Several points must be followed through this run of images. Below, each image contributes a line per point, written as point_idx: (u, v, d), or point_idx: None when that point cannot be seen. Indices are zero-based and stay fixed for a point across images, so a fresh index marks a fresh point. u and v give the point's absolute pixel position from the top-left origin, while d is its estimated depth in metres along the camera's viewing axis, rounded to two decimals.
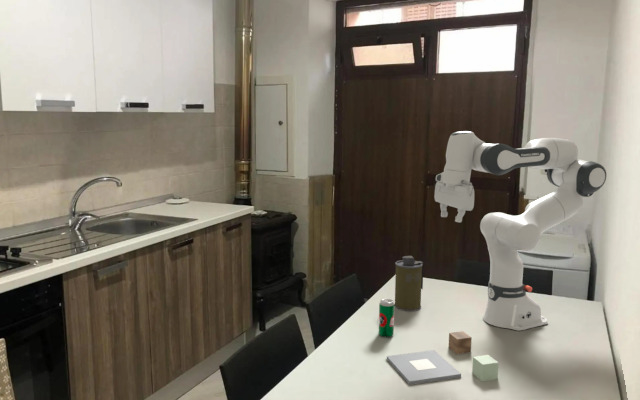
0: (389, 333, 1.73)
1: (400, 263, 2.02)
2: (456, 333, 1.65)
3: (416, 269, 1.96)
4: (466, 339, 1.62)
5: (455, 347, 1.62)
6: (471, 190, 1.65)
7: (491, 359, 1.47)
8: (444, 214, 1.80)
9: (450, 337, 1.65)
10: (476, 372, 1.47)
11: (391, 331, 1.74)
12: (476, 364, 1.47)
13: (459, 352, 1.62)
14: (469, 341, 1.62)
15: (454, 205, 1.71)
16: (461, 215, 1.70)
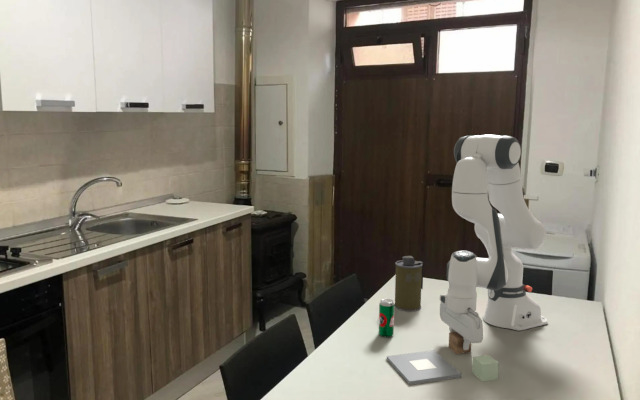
0: (389, 333, 1.73)
1: (400, 263, 2.02)
2: (456, 333, 1.65)
3: (416, 269, 1.96)
4: None
5: (455, 347, 1.62)
6: (479, 323, 1.53)
7: (491, 359, 1.47)
8: None
9: (450, 337, 1.65)
10: (476, 372, 1.47)
11: (391, 331, 1.74)
12: (476, 364, 1.47)
13: (459, 352, 1.62)
14: None
15: (462, 334, 1.59)
16: (468, 343, 1.60)
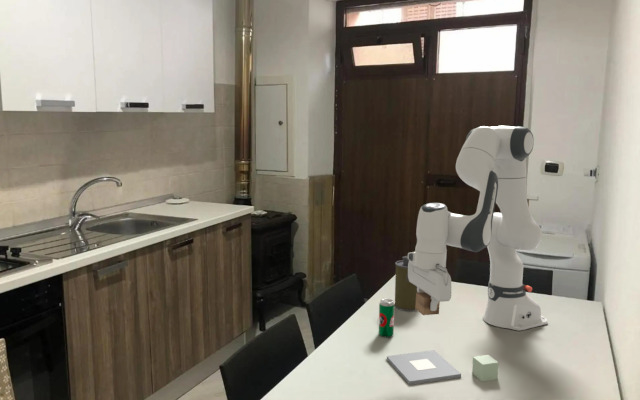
0: (389, 333, 1.73)
1: (400, 263, 2.02)
2: (424, 293, 1.51)
3: None
4: None
5: (422, 307, 1.48)
6: (447, 278, 1.39)
7: (491, 359, 1.47)
8: None
9: (417, 298, 1.51)
10: (476, 372, 1.47)
11: (391, 331, 1.74)
12: (476, 364, 1.47)
13: (426, 313, 1.48)
14: None
15: (429, 293, 1.45)
16: (435, 303, 1.46)
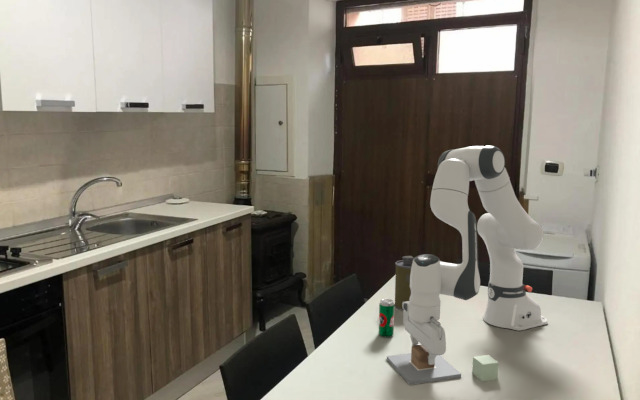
0: (389, 333, 1.73)
1: (400, 263, 2.02)
2: (419, 346, 1.53)
3: None
4: None
5: (417, 361, 1.50)
6: (441, 333, 1.41)
7: (491, 359, 1.47)
8: None
9: (412, 351, 1.53)
10: (476, 372, 1.47)
11: (391, 331, 1.74)
12: (476, 364, 1.47)
13: (421, 367, 1.50)
14: None
15: (424, 345, 1.47)
16: (433, 357, 1.46)
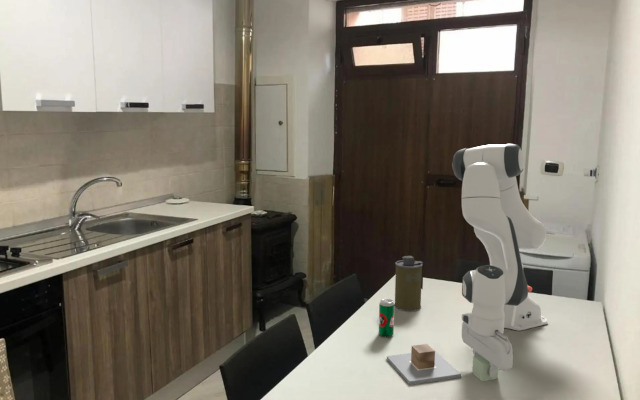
0: (389, 333, 1.73)
1: (400, 263, 2.02)
2: (419, 346, 1.53)
3: (416, 269, 1.96)
4: (429, 353, 1.50)
5: (417, 361, 1.50)
6: (508, 347, 1.36)
7: None
8: None
9: (412, 351, 1.53)
10: (476, 372, 1.47)
11: (391, 331, 1.74)
12: (476, 364, 1.47)
13: (421, 367, 1.50)
14: (432, 355, 1.50)
15: (488, 359, 1.43)
16: (495, 369, 1.43)
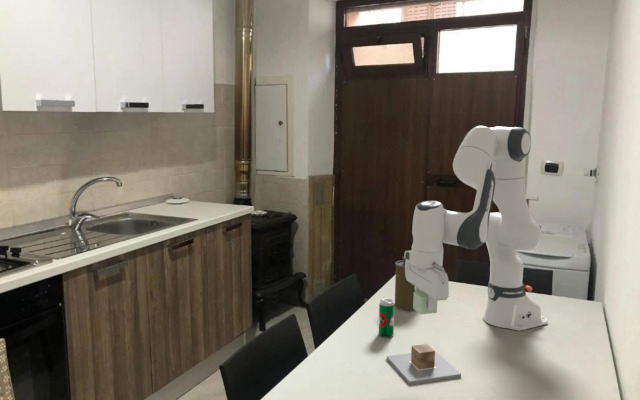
0: (389, 333, 1.73)
1: (400, 263, 2.02)
2: (419, 346, 1.53)
3: None
4: (429, 353, 1.50)
5: (417, 361, 1.50)
6: (444, 277, 1.38)
7: None
8: None
9: (412, 351, 1.53)
10: (416, 306, 1.49)
11: (391, 331, 1.74)
12: (416, 299, 1.49)
13: (421, 367, 1.50)
14: (432, 355, 1.50)
15: (426, 292, 1.44)
16: (433, 302, 1.45)
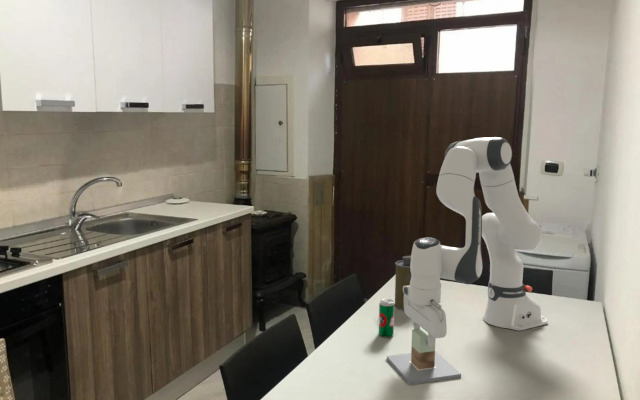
0: (389, 333, 1.73)
1: (400, 263, 2.02)
2: None
3: None
4: (429, 353, 1.50)
5: (417, 361, 1.50)
6: (441, 316, 1.40)
7: None
8: None
9: (412, 351, 1.53)
10: (415, 345, 1.51)
11: (391, 331, 1.74)
12: (414, 337, 1.51)
13: (421, 367, 1.50)
14: (432, 355, 1.50)
15: (425, 328, 1.46)
16: (432, 339, 1.46)
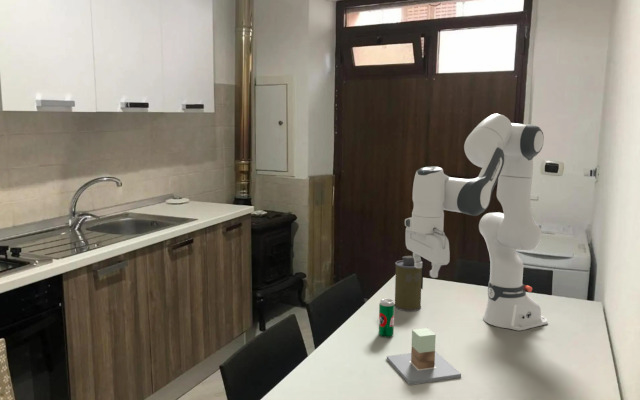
0: (389, 333, 1.73)
1: (400, 263, 2.02)
2: None
3: (416, 269, 1.96)
4: (429, 353, 1.50)
5: (417, 361, 1.50)
6: (444, 241, 1.37)
7: (429, 332, 1.51)
8: (418, 265, 1.52)
9: (412, 351, 1.53)
10: (415, 345, 1.51)
11: (391, 331, 1.74)
12: (414, 337, 1.51)
13: (421, 367, 1.50)
14: (432, 355, 1.50)
15: (427, 258, 1.43)
16: (436, 269, 1.42)
